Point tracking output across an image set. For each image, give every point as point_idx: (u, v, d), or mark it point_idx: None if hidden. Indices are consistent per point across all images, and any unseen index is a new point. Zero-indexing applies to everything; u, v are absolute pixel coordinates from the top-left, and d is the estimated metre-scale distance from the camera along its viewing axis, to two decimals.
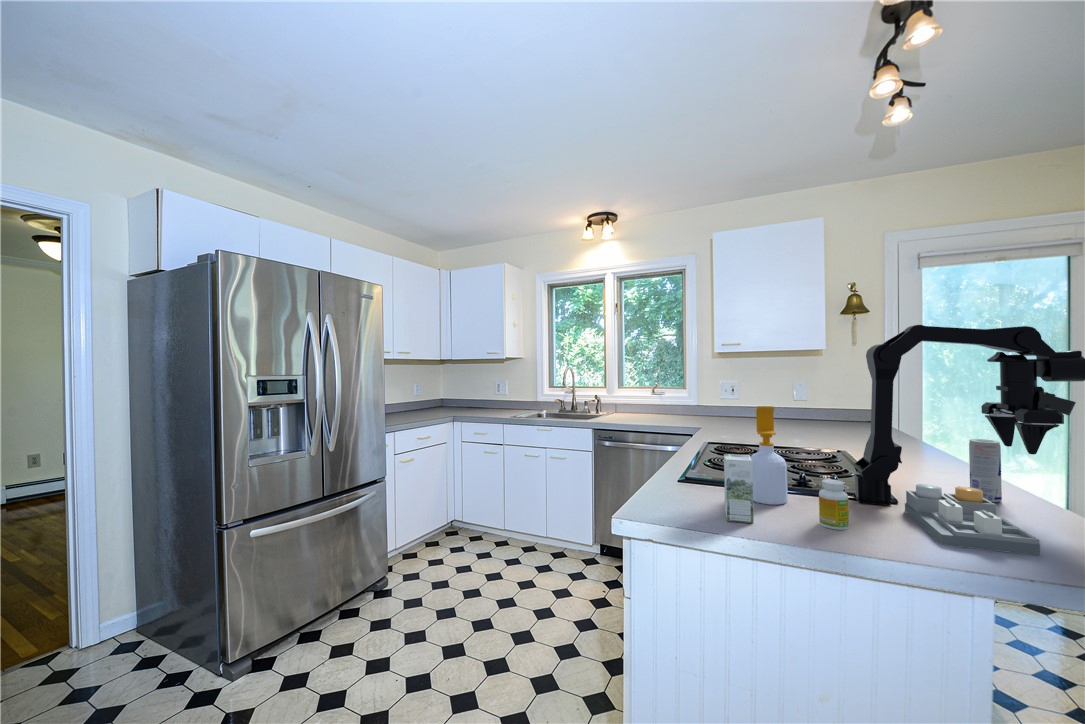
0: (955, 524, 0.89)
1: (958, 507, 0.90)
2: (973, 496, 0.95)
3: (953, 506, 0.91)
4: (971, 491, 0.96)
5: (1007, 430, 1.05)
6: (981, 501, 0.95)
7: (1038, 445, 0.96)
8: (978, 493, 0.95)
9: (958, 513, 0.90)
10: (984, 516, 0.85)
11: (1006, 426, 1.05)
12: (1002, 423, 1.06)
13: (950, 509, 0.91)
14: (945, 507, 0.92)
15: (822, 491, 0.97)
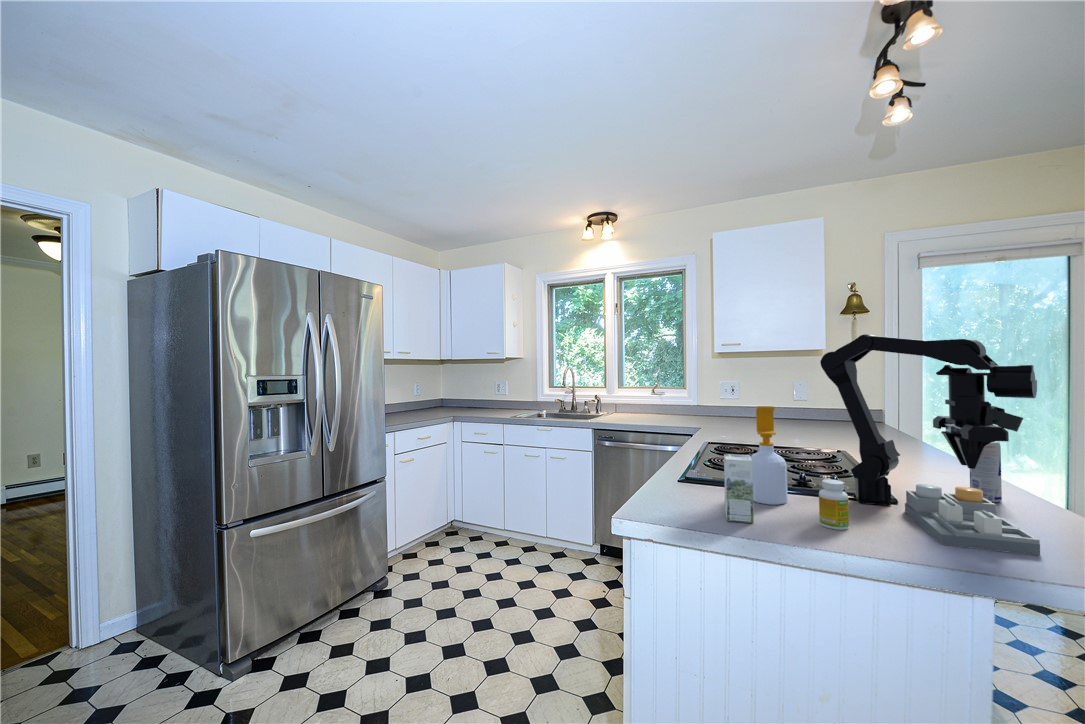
0: (955, 524, 0.89)
1: (958, 507, 0.90)
2: (973, 496, 0.95)
3: (953, 506, 0.91)
4: (971, 491, 0.96)
5: None
6: (981, 501, 0.95)
7: (977, 459, 0.95)
8: (978, 493, 0.95)
9: (958, 513, 0.90)
10: (984, 516, 0.85)
11: None
12: None
13: (950, 509, 0.91)
14: (945, 507, 0.92)
15: (822, 491, 0.97)
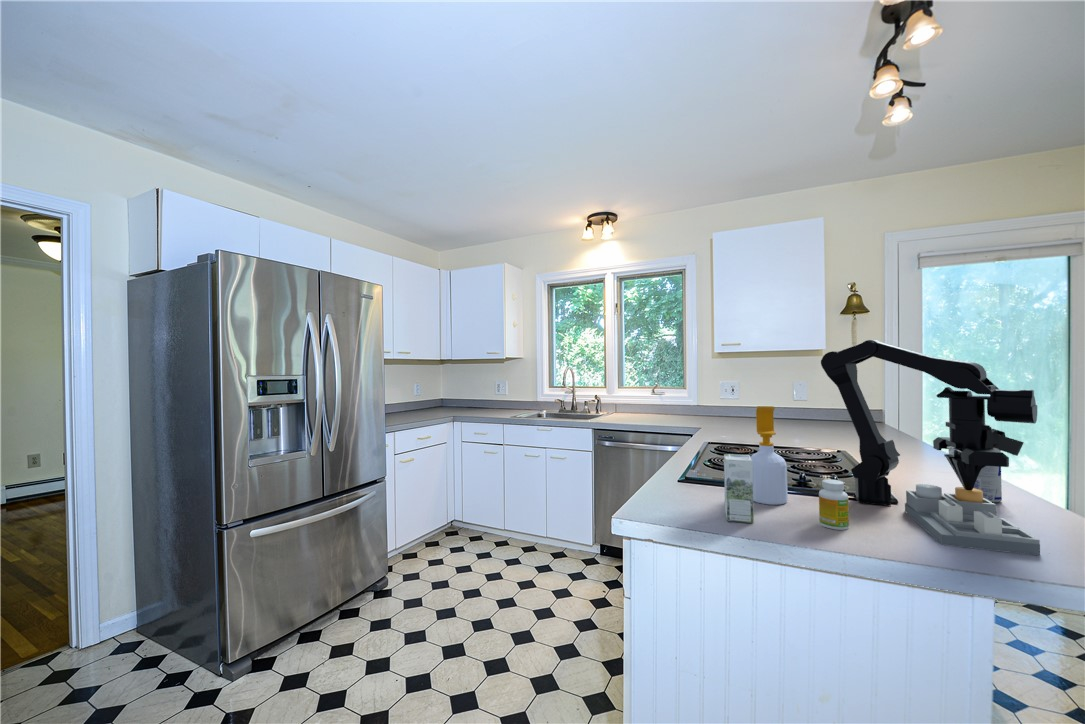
0: (955, 524, 0.89)
1: (958, 507, 0.90)
2: (973, 496, 0.95)
3: (953, 506, 0.91)
4: (971, 491, 0.96)
5: None
6: (981, 501, 0.95)
7: (974, 481, 0.96)
8: (978, 493, 0.95)
9: (958, 513, 0.90)
10: (984, 516, 0.85)
11: None
12: None
13: (950, 509, 0.91)
14: (945, 507, 0.92)
15: (822, 491, 0.97)
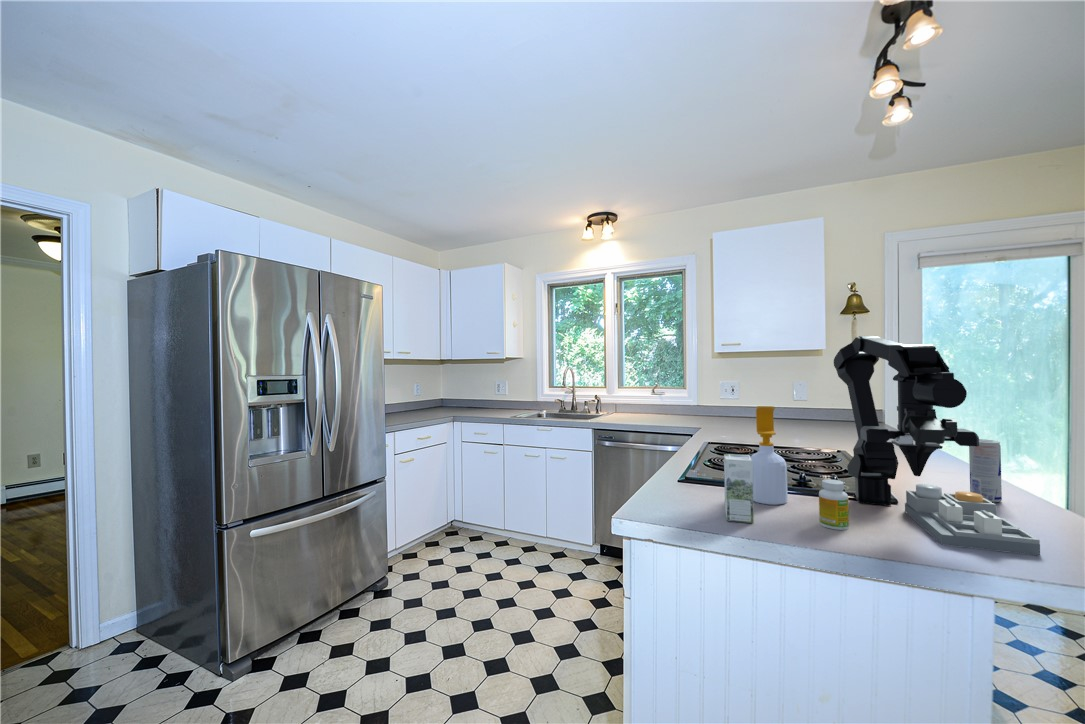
0: (955, 524, 0.89)
1: (958, 507, 0.90)
2: (974, 501, 0.95)
3: (953, 506, 0.91)
4: (971, 496, 0.96)
5: (918, 458, 0.95)
6: None
7: (912, 466, 0.94)
8: (978, 498, 0.95)
9: (958, 513, 0.90)
10: (984, 516, 0.85)
11: (918, 453, 0.95)
12: (917, 450, 0.95)
13: (950, 509, 0.91)
14: (945, 507, 0.92)
15: (822, 491, 0.97)
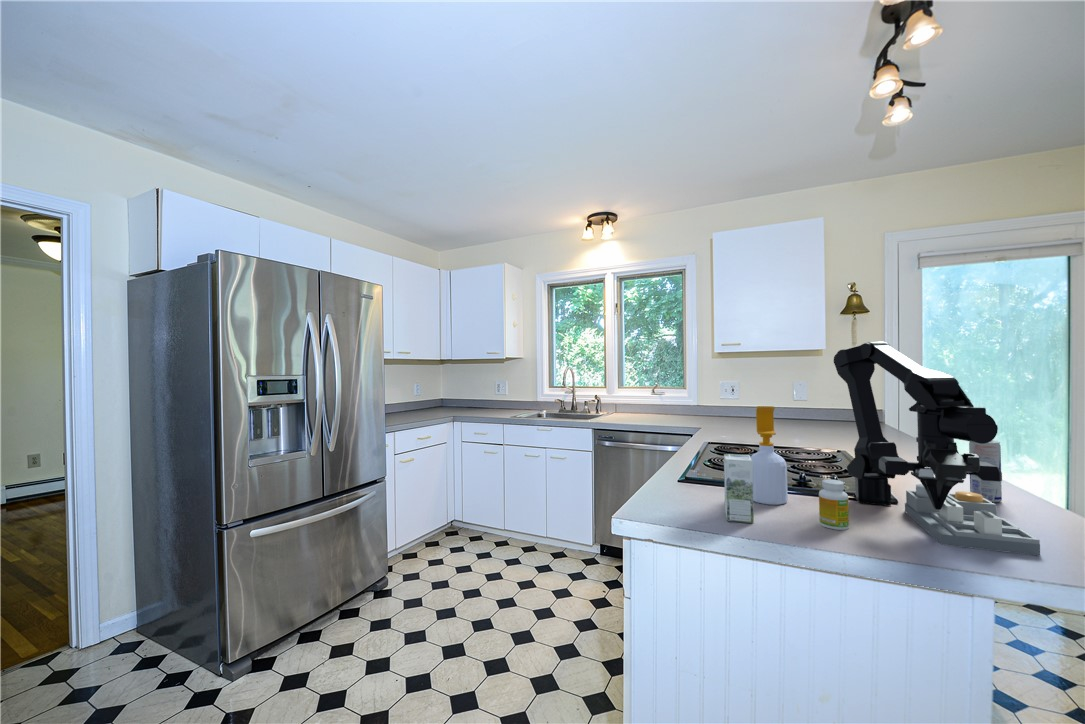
0: (955, 524, 0.89)
1: (959, 507, 0.90)
2: (974, 501, 0.95)
3: (954, 506, 0.91)
4: (971, 496, 0.96)
5: (938, 491, 0.93)
6: None
7: (932, 499, 0.93)
8: (978, 498, 0.95)
9: (959, 513, 0.90)
10: (984, 516, 0.85)
11: (939, 486, 0.93)
12: (938, 482, 0.94)
13: (951, 509, 0.91)
14: (946, 507, 0.92)
15: (822, 491, 0.97)
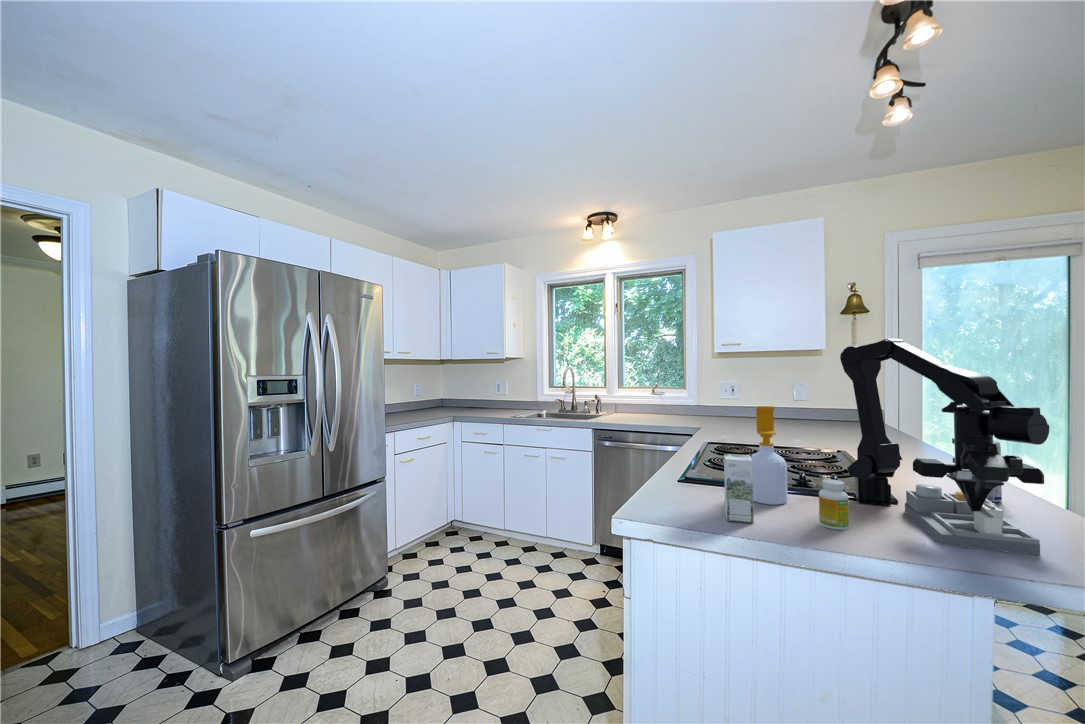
0: (955, 524, 0.89)
1: (998, 510, 0.88)
2: None
3: (993, 509, 0.88)
4: None
5: (976, 494, 0.91)
6: None
7: (970, 502, 0.91)
8: None
9: None
10: (984, 516, 0.85)
11: (976, 489, 0.91)
12: (975, 485, 0.91)
13: None
14: None
15: (822, 491, 0.97)
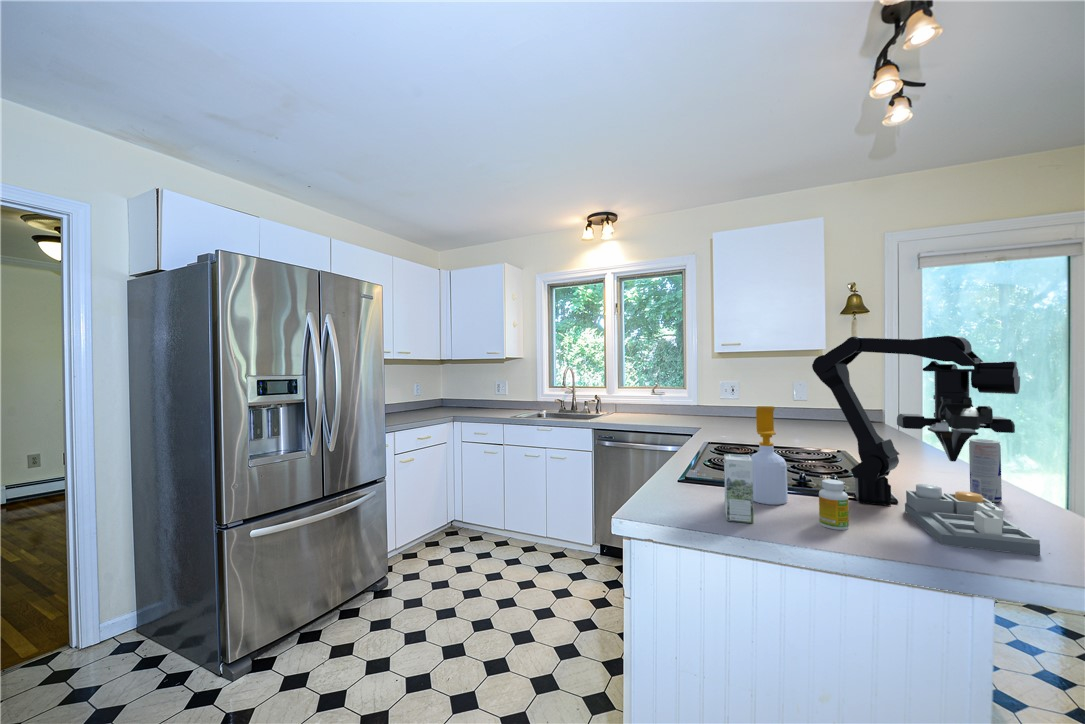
0: (955, 524, 0.89)
1: (998, 510, 0.88)
2: (974, 501, 0.95)
3: (993, 509, 0.88)
4: (971, 496, 0.96)
5: (954, 444, 0.99)
6: None
7: (947, 452, 0.99)
8: (978, 498, 0.95)
9: None
10: (984, 516, 0.85)
11: (954, 440, 0.99)
12: (953, 436, 1.00)
13: None
14: None
15: (822, 491, 0.97)
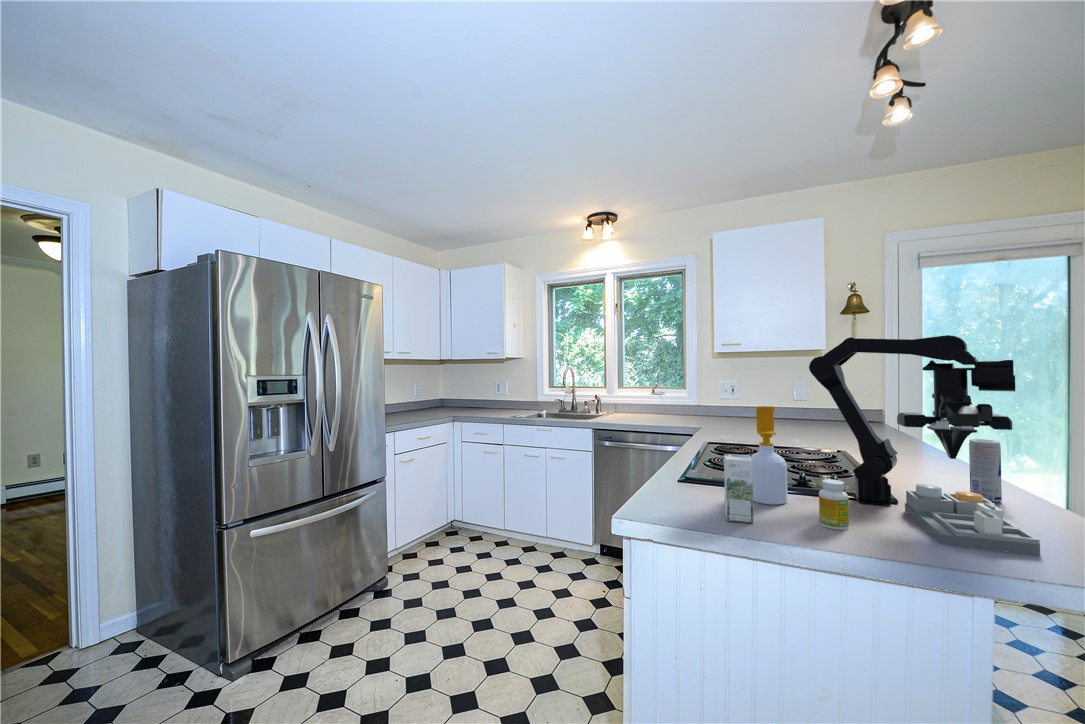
0: (955, 524, 0.89)
1: (998, 510, 0.88)
2: (974, 501, 0.95)
3: (993, 509, 0.88)
4: (971, 496, 0.96)
5: (953, 442, 1.01)
6: None
7: (947, 449, 1.01)
8: (978, 498, 0.95)
9: None
10: (984, 516, 0.85)
11: (953, 437, 1.01)
12: (953, 434, 1.02)
13: None
14: None
15: (822, 491, 0.97)
